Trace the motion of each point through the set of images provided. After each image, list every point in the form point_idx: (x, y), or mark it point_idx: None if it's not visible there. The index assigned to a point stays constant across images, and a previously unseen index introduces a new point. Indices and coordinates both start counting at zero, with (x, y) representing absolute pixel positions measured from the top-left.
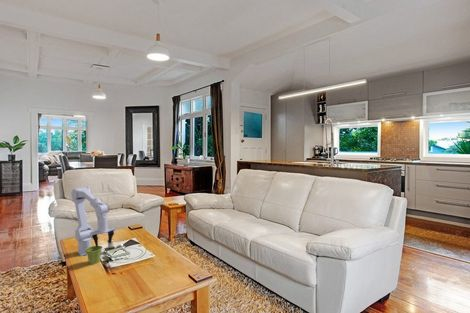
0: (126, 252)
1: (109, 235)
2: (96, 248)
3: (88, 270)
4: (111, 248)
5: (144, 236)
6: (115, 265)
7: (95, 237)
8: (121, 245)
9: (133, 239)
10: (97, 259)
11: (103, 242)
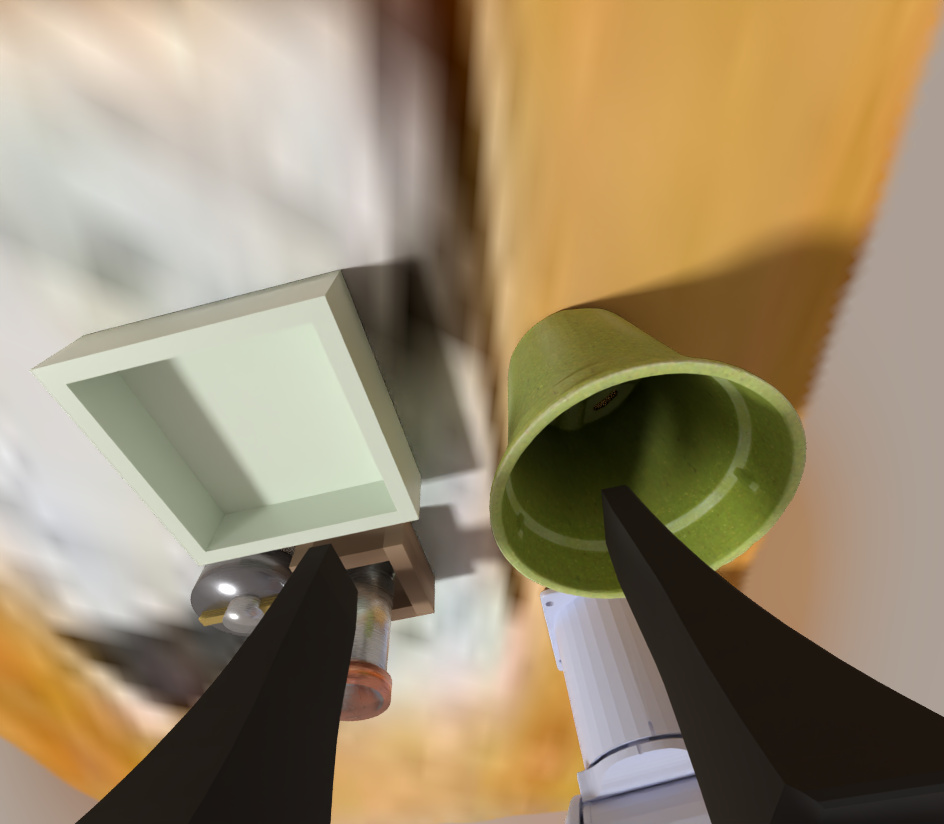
0: (84, 361)
1: (266, 798)
2: (566, 547)
3: (725, 79)
4: (353, 579)
5: (57, 733)
6: (275, 33)
7: (931, 767)
8: (233, 611)
9: (160, 711)
10: (558, 330)
11: (433, 724)
